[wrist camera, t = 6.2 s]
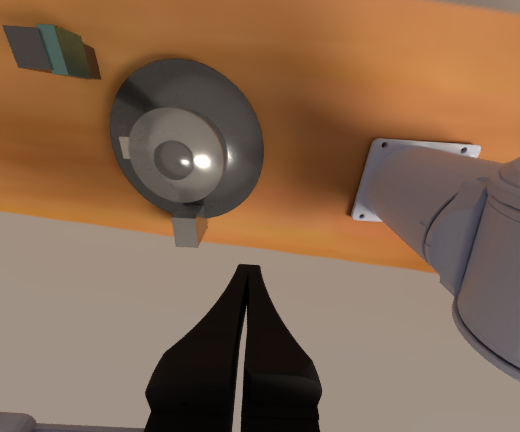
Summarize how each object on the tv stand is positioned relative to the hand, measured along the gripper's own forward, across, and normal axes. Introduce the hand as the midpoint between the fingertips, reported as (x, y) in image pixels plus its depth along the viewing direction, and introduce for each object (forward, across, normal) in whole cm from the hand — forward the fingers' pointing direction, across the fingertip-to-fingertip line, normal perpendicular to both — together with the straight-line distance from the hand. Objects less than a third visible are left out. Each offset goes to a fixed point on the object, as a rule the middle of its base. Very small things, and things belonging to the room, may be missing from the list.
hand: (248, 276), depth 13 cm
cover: (+8, +6, -6) cm, 12 cm away
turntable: (+10, +6, -6) cm, 13 cm away
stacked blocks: (+10, +14, -12) cm, 21 cm away
